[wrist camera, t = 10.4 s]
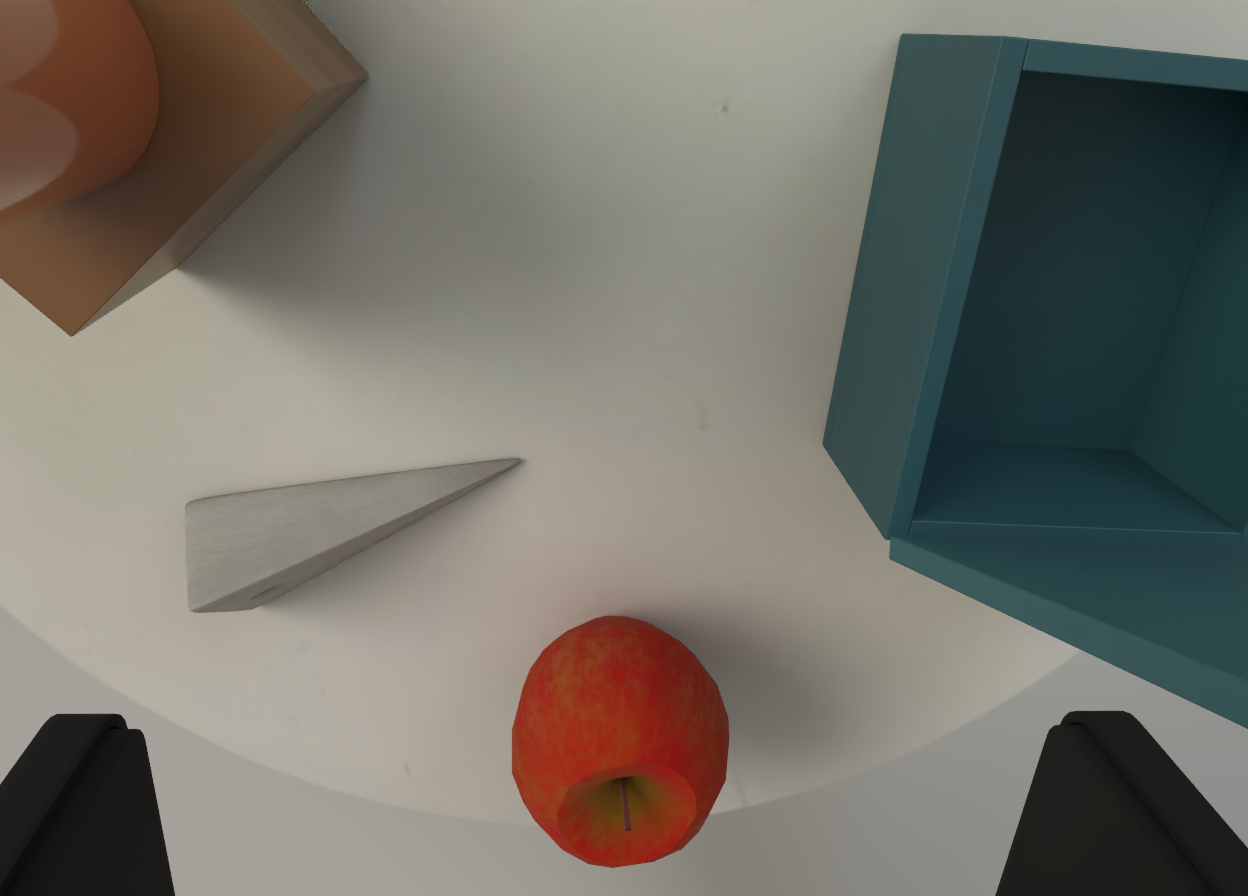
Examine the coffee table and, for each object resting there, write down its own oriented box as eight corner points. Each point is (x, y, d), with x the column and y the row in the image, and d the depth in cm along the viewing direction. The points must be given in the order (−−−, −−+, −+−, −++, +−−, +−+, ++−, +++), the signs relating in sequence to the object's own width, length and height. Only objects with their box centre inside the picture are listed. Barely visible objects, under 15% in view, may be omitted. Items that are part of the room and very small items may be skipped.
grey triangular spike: (458, 343, 35) (140, 501, 34) (513, 452, 34) (191, 616, 33) (480, 378, 41) (208, 514, 40) (527, 471, 40) (253, 612, 39)
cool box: (900, 33, 32) (1001, 36, 25) (1263, 68, 33) (1457, 80, 26) (821, 445, 38) (884, 540, 31) (1128, 459, 40) (1255, 554, 33)
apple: (493, 575, 40) (476, 757, 30) (688, 537, 40) (734, 707, 30) (537, 727, 43) (534, 934, 33) (715, 692, 43) (764, 889, 33)
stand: (119, -201, 27) (-33, -283, 20) (370, 75, 31) (317, 91, 24) (-82, 36, 30) (-285, 40, 22) (174, 269, 33) (70, 337, 26)
